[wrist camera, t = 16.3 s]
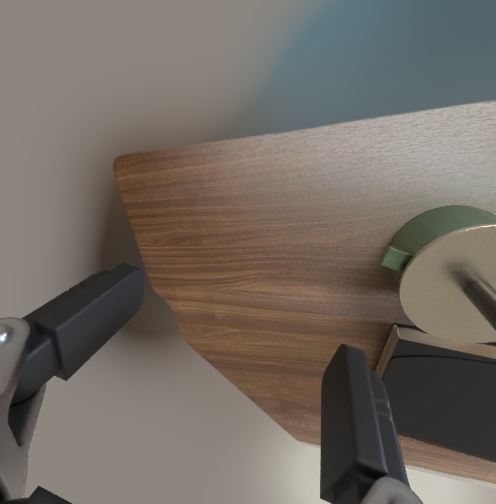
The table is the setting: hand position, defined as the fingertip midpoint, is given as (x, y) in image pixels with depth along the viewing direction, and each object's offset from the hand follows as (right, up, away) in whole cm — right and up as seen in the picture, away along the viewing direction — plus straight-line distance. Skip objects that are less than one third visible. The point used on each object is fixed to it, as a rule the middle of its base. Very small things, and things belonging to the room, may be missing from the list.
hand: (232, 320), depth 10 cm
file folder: (+40, -22, +33) cm, 57 cm away
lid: (+25, -1, +18) cm, 31 cm away
